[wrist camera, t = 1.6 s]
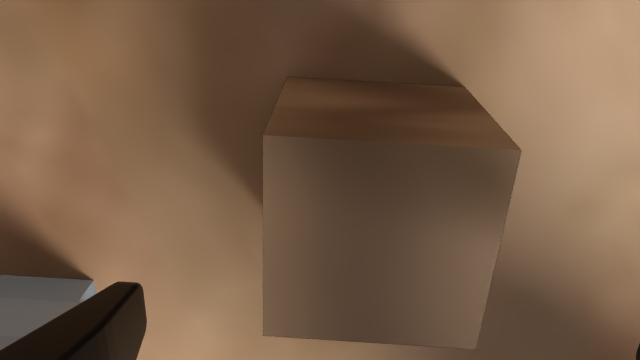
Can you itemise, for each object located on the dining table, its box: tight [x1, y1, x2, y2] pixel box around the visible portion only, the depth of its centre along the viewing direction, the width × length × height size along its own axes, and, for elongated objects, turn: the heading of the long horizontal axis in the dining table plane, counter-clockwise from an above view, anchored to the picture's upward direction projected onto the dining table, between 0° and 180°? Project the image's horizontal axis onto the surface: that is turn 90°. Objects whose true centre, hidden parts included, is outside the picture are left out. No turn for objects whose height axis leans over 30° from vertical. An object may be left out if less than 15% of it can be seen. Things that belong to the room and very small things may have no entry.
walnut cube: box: [263, 77, 521, 349], centre depth 13 cm, size 5×5×5 cm
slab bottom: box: [0, 275, 96, 303], centre depth 19 cm, size 6×6×2 cm
